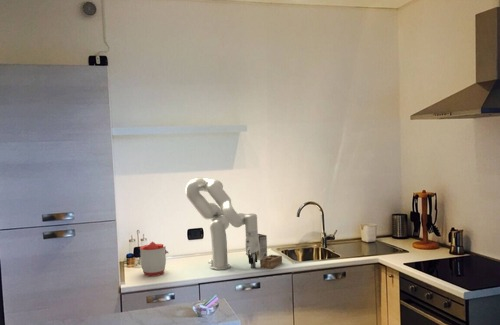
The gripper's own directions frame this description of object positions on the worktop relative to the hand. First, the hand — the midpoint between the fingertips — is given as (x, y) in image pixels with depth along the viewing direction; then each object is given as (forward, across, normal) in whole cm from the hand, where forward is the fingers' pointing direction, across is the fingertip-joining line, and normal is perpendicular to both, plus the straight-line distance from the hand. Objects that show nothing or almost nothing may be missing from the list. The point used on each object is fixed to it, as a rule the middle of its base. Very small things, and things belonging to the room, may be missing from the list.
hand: (253, 262), depth 291 cm
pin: (+3, 0, 0) cm, 3 cm away
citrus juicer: (+3, -34, +50) cm, 61 cm away
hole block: (+3, +9, -8) cm, 12 cm away
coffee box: (+4, +22, +8) cm, 24 cm away
